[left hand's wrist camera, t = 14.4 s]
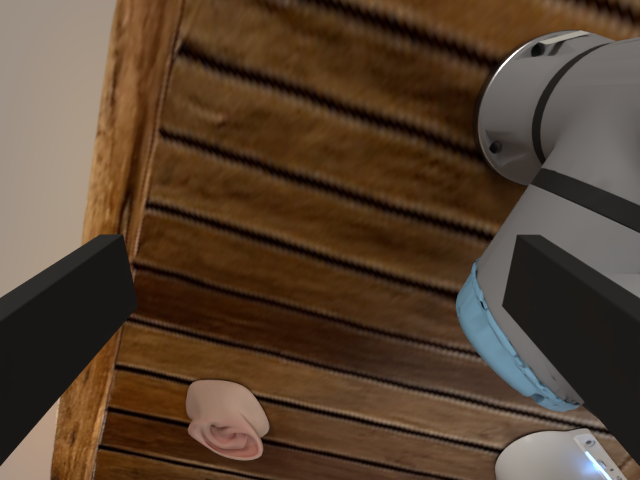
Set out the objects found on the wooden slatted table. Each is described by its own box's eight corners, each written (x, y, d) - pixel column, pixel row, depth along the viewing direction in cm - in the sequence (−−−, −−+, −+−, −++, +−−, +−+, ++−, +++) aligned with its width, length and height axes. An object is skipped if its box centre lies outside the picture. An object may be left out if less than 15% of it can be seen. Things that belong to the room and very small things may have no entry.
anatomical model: (163, 405, 50) (245, 391, 49) (174, 384, 53) (250, 371, 52) (196, 472, 54) (271, 461, 53) (204, 448, 58) (274, 437, 57)
